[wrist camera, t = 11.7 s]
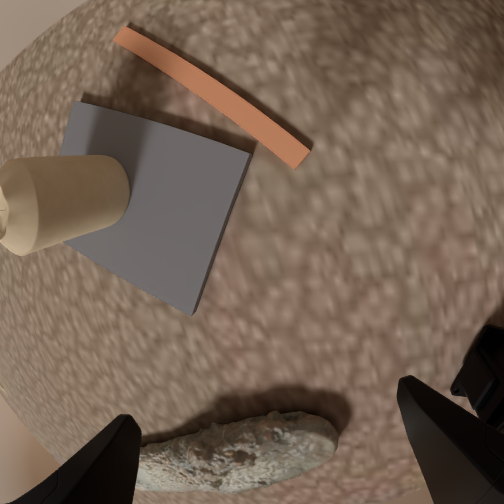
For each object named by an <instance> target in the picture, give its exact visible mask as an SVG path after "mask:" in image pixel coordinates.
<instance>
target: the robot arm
mask: <svg viewBox="0 0 504 504" xmlns="http://www.w3.org/2000/svg"><path fill="white" fill-rule="evenodd" d="M489 330H490V331H489ZM488 331H489V332H488ZM487 332H488V333H487ZM455 389H457V390H455ZM450 391H451V394H452V395H454V396H463V397H467V398H468V400H469V402H470V404H471V407H472V409H473V410H475V411H476V413H477V416H478V418H477V417H476V416H474V415H473V414H471V413H470V412H468V411H466V410H465V409H463V408H462V407H460V406H459V405H457V404H456V403H454V402H452V401H451V400H449V399H448V398H446V397H445V396H443V395H442V394H440V393H439V392H437V391H435V390H434V389H432V388H431V387H429V386H428V385H426V384H425V383H423V382H422V381H420V380H419V379H417V378H415V377H414V376H412V375H408V376H405V377H402V378H400V379H399V382H398V389H397V401H398V405H399V408H400V412H401V415H402V418H403V422H404V425H405V429H406V433H407V436H408V439H409V442H410V444H411V447H412V449H413V451H414V454H415V456H416V459H417V461H418V464H419V466H420V469H421V471H422V474H423V476H424V479H425V481H426V484H427V487H428V489H429V492H430V494H431V497H432V500H433V502H434V504H504V328H501V327H497V326H493V325H486V326H485V327H484V328H483V330H482V332H481V334H480V336H479V338H478V340H477V342H476V344H475V346H474V348H473V350H472V352H471V354H470V355H469V357H468V359H467V361H466V363H465V364H464V366H463V368H462V370H461V371H460V373H459V375H458V377H457V378H456V380H455V382H454V383H453V385H452V387H451V389H450ZM141 435H142V433H141V429H140V427H139V426H138V424H137V423H136V421H135V420H134V418H133V417H132V416H131V415H129V414H120V415H118V416H117V417H116V418H115V419H114V420H113V421H112V422H111V423H109V424H108V425H107V426H106V427H105V428H104V429H103V430H102V431H101V432H99V433H98V434H97V435H96V436H95V437H94V438H93V439H92V440H90V441H89V442H88V443H87V444H86V445H85V446H84V447H82V448H81V449H80V450H79V451H78V452H77V453H76V454H74V455H73V456H72V457H71V458H70V459H69V460H68V461H66V462H65V463H64V464H63V465H62V466H61V467H59V468H58V470H56V471H55V472H54V473H52V474H51V475H50V476H49V477H48V478H47V479H45V480H44V481H43V482H41V483H40V484H38V485H37V486H36V487H34V488H33V489H31V490H30V491H28V492H27V493H25V494H24V495H22V496H21V497H19V498H18V499H16V500H14V501H13V502H10V503H6V504H132V502H133V496H134V490H135V485H136V480H137V475H138V469H139V458H140V446H141Z"/></svg>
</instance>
